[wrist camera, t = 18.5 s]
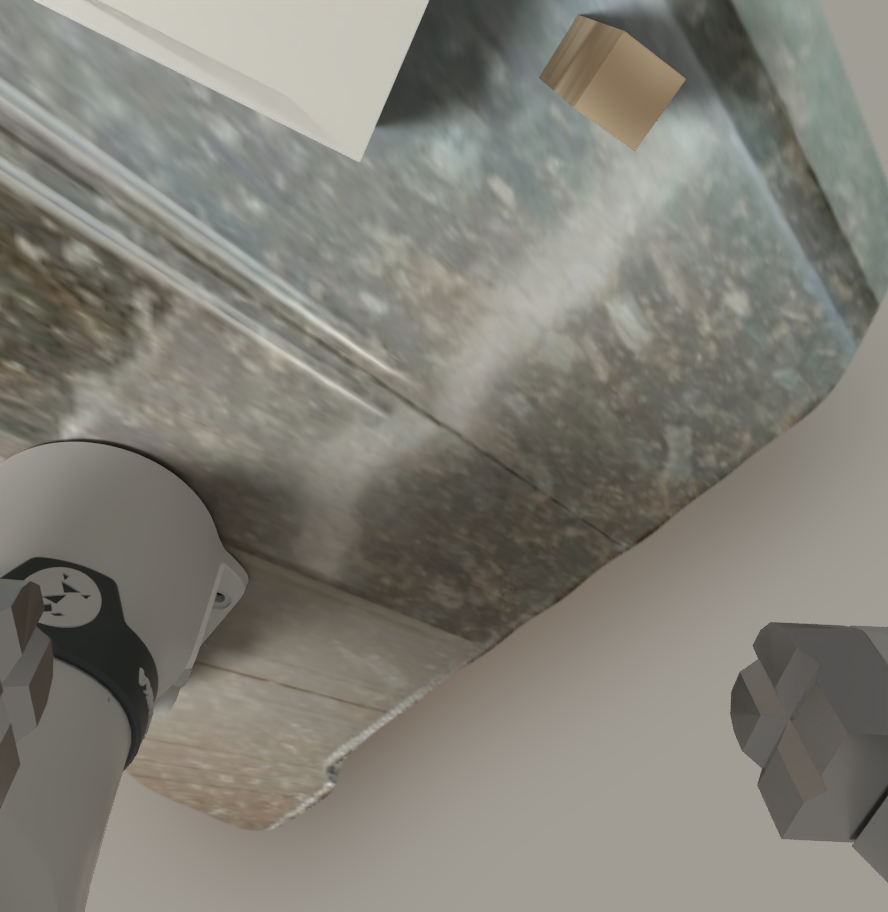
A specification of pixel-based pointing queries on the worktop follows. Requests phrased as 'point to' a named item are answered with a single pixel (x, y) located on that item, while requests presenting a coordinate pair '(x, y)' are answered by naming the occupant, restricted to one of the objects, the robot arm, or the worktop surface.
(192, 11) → the box
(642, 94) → the brown wooden block
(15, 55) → the worktop surface
